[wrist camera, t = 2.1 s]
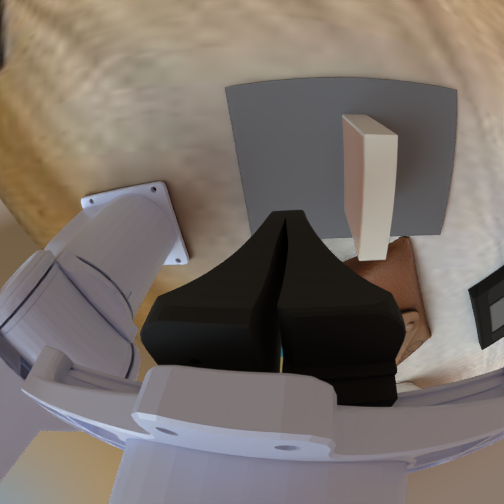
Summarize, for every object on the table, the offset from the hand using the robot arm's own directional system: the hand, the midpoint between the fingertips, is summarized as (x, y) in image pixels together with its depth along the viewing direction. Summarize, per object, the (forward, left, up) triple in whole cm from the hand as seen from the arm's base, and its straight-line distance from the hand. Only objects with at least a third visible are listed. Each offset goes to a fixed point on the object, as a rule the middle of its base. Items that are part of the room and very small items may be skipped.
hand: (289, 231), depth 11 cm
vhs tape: (+26, -17, -9) cm, 33 cm away
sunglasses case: (+9, -16, -9) cm, 21 cm away
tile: (+4, 0, -8) cm, 9 cm away
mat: (+4, 0, -9) cm, 10 cm away
